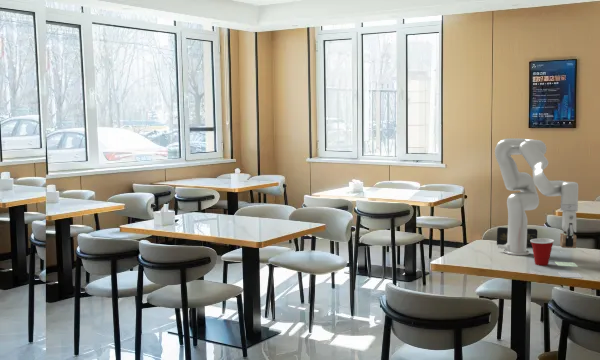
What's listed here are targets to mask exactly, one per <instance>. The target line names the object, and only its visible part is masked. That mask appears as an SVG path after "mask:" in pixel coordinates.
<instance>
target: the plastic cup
mask: <svg viewBox="0 0 600 360" xmlns="http://www.w3.org/2000/svg"><path fill="white" fill-rule="evenodd" d="M530 242H531V244H532V247H531V248H532V253H533V259H534V264H535V265H536V266H545V267H546V266H548V265H549V261H550V258H551V254H552V248H553V244H554V242H555V240H554V239H552V238H545V237H544V238H543V237H542V238H540V237H539V238H538V237H537V239H532V240H530Z"/></svg>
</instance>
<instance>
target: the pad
mask: <svg viewBox="0 0 600 360" xmlns="http://www.w3.org/2000/svg"><path fill="white" fill-rule="evenodd" d="M554 263H555V264H556V265H557V266H558V267H572V268H574V267H576V268H578V267H579V266H578V264H576V263H575V262H570V261H569V262H567V261H566V262H565V261H554Z"/></svg>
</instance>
